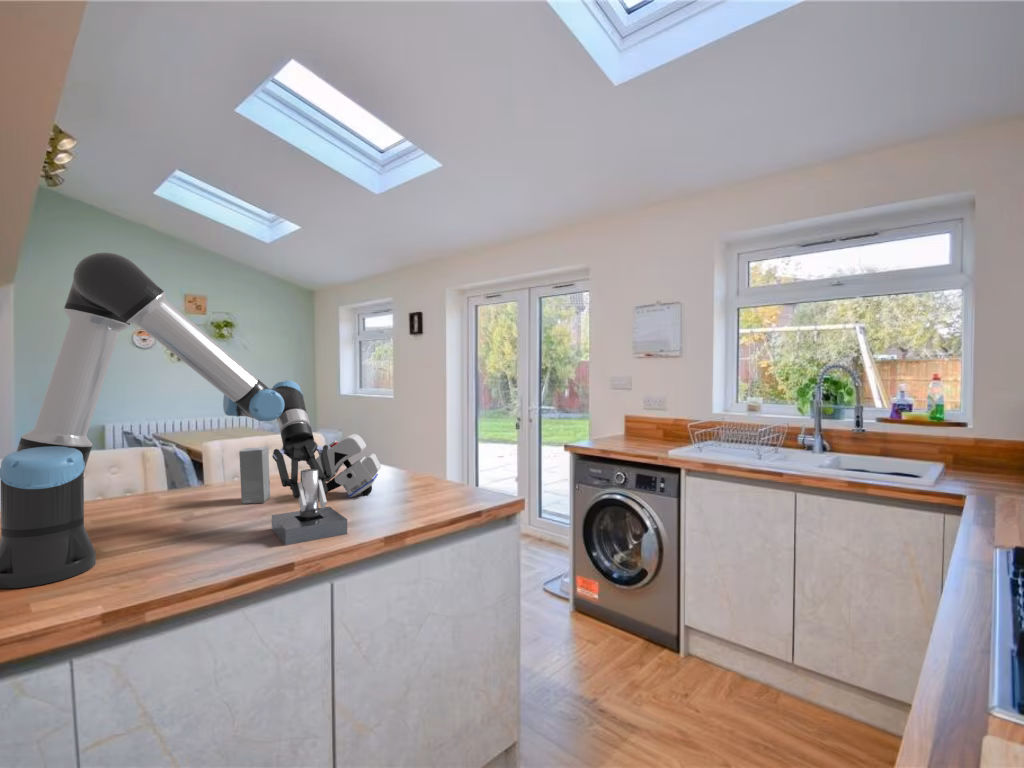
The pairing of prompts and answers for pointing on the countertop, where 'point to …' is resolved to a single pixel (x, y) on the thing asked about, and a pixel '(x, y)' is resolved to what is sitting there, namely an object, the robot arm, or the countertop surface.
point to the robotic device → (351, 466)
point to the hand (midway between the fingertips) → (314, 506)
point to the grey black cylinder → (310, 494)
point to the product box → (254, 475)
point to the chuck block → (308, 526)
